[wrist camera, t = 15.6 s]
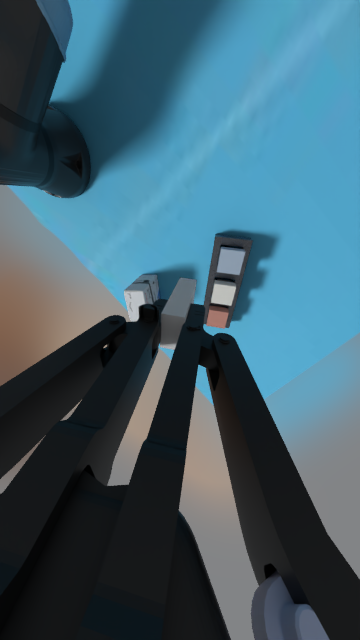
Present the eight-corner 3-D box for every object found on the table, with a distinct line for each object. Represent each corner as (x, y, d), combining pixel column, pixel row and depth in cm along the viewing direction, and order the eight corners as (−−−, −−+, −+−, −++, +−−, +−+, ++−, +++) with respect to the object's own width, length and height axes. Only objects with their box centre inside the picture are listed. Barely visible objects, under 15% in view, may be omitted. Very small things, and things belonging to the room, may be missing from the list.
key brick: (224, 317, 54) (224, 328, 49) (207, 315, 54) (206, 325, 50) (227, 303, 51) (228, 312, 46) (210, 300, 52) (209, 309, 47)
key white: (230, 296, 48) (231, 305, 44) (211, 293, 49) (211, 302, 45) (234, 278, 46) (236, 286, 41) (215, 275, 46) (214, 283, 42)
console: (228, 321, 55) (229, 328, 52) (201, 317, 56) (200, 323, 53) (250, 238, 43) (252, 240, 40) (215, 234, 44) (215, 236, 41)
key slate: (237, 267, 44) (239, 275, 40) (217, 265, 45) (216, 272, 40) (242, 246, 42) (245, 251, 37) (221, 244, 42) (221, 248, 38)
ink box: (161, 301, 56) (148, 323, 46) (145, 301, 57) (130, 322, 47) (157, 274, 51) (142, 290, 42) (140, 274, 52) (122, 290, 43)
